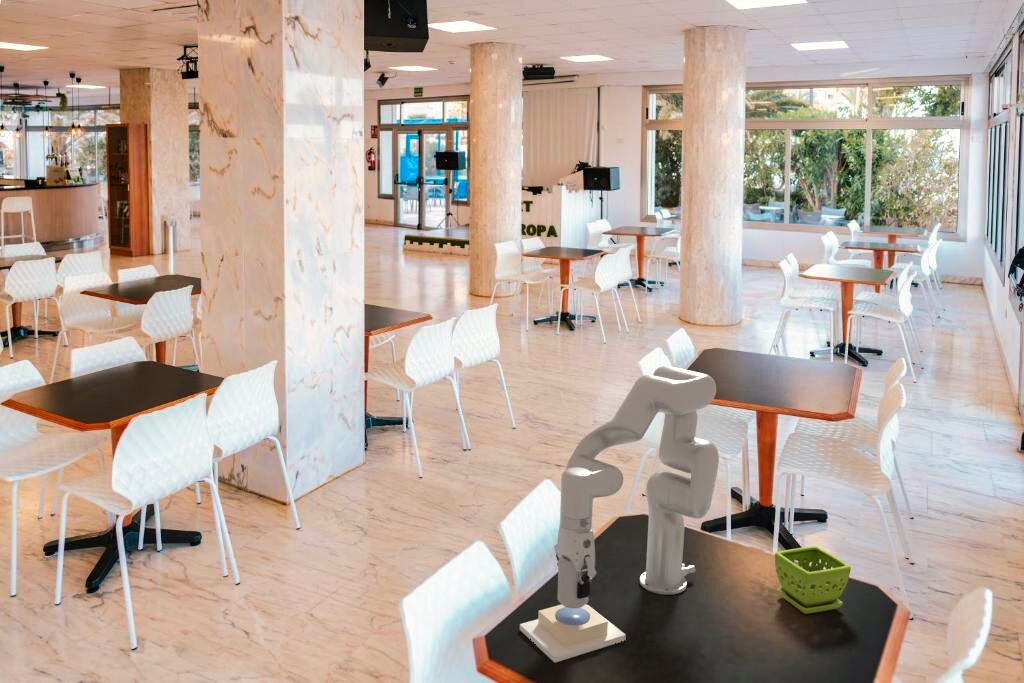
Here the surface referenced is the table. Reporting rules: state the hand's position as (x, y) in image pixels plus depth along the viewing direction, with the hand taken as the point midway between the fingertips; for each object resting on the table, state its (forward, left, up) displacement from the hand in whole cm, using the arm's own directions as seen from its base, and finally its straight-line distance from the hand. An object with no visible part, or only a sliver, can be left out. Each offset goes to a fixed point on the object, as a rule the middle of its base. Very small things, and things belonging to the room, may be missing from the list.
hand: (573, 589), depth 208 cm
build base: (0, 0, -12) cm, 12 cm away
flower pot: (-63, +16, -12) cm, 66 cm away
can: (0, 0, -4) cm, 4 cm away
